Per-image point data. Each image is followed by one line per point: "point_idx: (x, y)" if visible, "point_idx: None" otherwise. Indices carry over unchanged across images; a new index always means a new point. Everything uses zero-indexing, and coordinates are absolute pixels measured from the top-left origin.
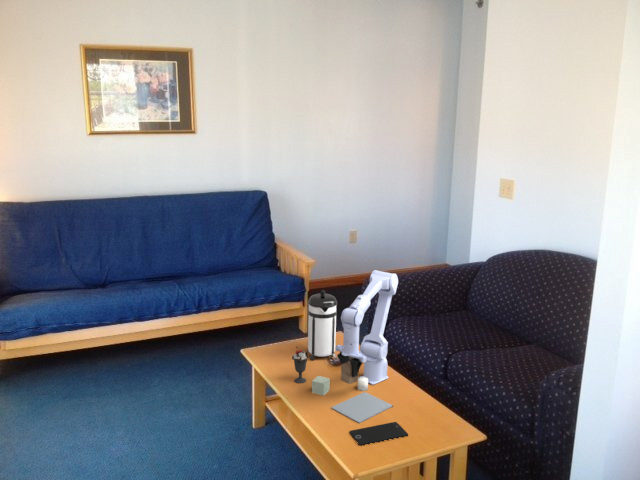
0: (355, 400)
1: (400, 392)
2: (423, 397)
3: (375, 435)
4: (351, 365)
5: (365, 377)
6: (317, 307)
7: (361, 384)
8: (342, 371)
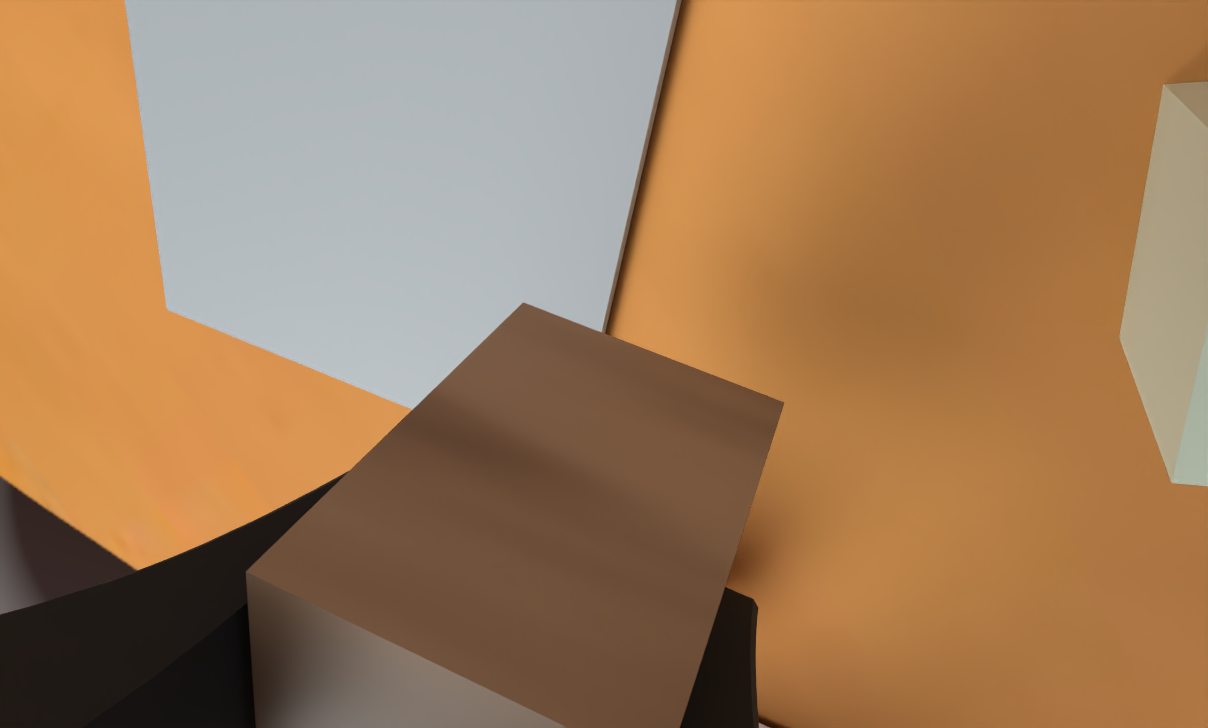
0: (533, 201)
1: None
2: (153, 559)
3: None
4: (144, 671)
5: None
6: None
7: None
8: (671, 544)
